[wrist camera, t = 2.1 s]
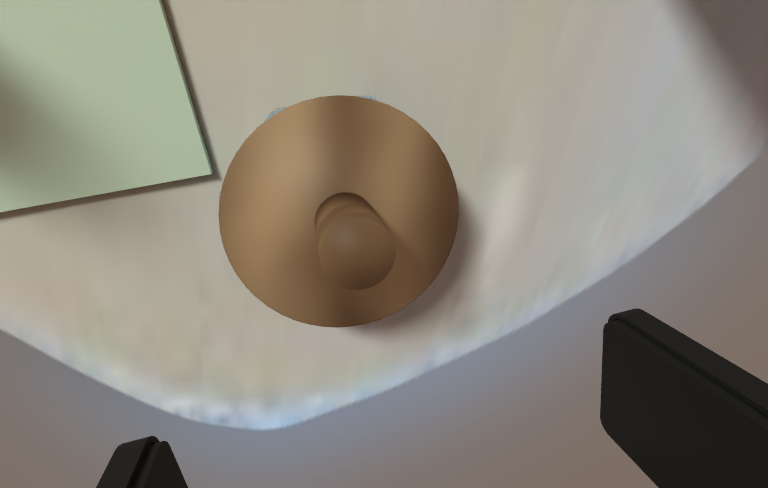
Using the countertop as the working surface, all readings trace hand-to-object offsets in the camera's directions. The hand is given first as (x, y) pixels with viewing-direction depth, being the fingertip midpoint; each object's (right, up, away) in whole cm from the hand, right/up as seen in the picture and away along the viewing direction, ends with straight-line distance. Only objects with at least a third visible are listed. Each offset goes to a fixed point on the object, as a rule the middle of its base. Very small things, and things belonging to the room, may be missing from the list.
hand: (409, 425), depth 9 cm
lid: (-3, +5, +14) cm, 15 cm away
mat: (-19, +13, +13) cm, 26 cm away
